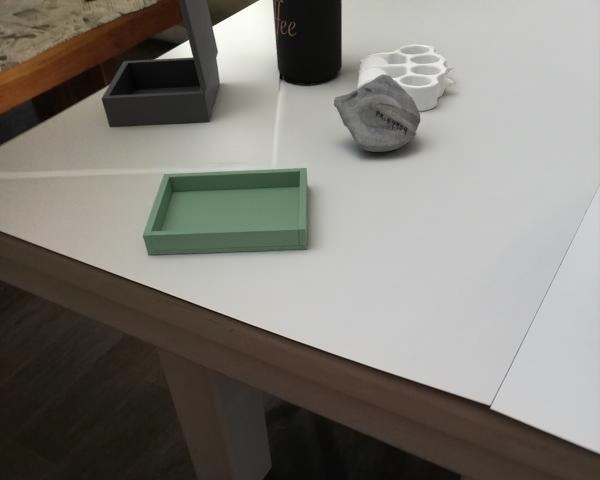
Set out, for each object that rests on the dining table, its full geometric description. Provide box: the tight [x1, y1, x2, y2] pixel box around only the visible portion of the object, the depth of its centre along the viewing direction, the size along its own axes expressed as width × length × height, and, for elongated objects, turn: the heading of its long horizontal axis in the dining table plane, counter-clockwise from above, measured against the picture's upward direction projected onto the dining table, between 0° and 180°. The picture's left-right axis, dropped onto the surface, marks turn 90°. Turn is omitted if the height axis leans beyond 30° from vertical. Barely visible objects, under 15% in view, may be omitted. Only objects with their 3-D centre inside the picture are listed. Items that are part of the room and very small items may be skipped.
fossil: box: [333, 75, 421, 153], centre depth 77 cm, size 11×9×8 cm
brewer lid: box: [178, 0, 219, 90], centre depth 81 cm, size 16×15×5 cm
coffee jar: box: [272, 0, 343, 86], centre depth 92 cm, size 11×11×18 cm
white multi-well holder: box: [356, 43, 456, 112], centre depth 91 cm, size 3×18×15 cm
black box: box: [101, 56, 221, 128], centre depth 90 cm, size 15×15×5 cm
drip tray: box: [142, 167, 309, 256], centre depth 68 cm, size 18×14×2 cm
